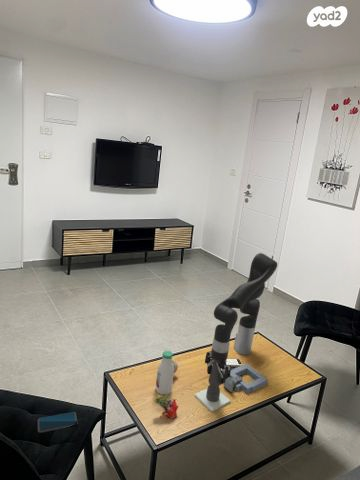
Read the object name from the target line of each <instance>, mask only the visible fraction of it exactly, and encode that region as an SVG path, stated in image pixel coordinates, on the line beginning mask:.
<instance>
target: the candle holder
mask: <svg viewBox="0 0 360 480" xmlns="http://www.w3.org/2000/svg"><path fill="white" fill-rule="evenodd" d="M213 360H214V362H212V364H213V365H212V366H213V367H212V372H211V373H210V374H209V376H208V384H209V385H208V386H207V388H208V389H207V388H206V389H207V394H206V398H207V399H208V400H209V401H211V402H217V401H218V400H219V396H220V392H221V390H220V389H221V388H220V386H221V385H222V384H220V379H221V374H220V373H219V370H218V366H217V364H216V363H220V362H221V361H217V360H215V359H213Z"/></svg>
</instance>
